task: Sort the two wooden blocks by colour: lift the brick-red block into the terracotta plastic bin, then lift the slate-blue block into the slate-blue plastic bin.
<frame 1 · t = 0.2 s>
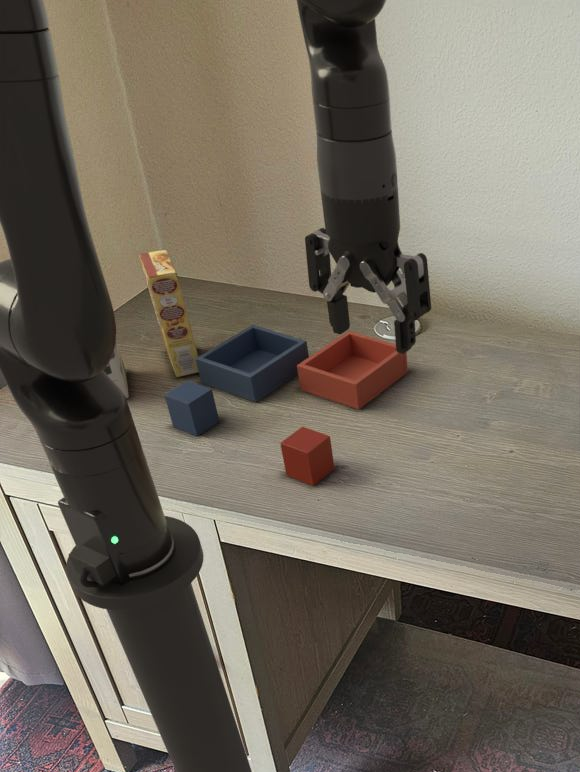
hand: (373, 340, 95), 20 cm above the table, tool pointing down, fingers open, 8 cm apart
blue bin: (256, 374, 130), on the table
candy box: (184, 363, 133), on the table
red bin: (355, 381, 129), on the table
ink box: (111, 388, 128), on the table
red block: (310, 472, 112), on the table
blue block: (196, 424, 120), on the table
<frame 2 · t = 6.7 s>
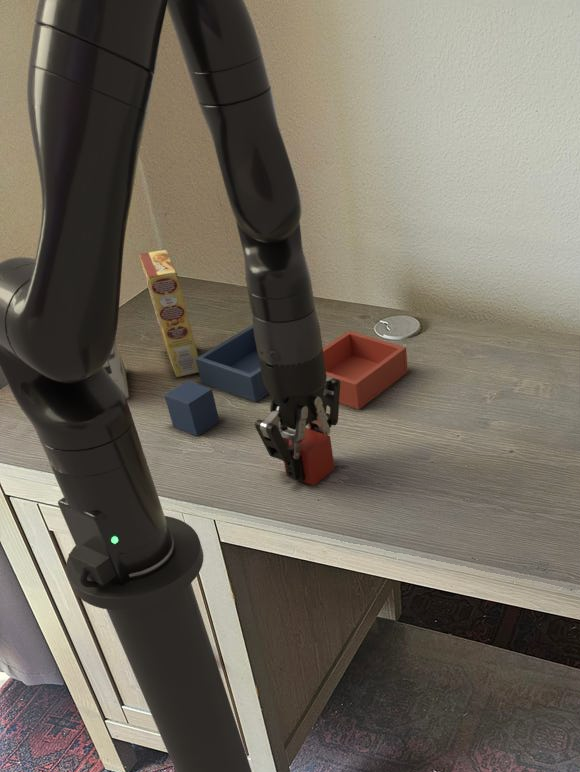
hand: (309, 468, 112), 1 cm above the table, tool pointing down, fingers closed on red block, 4 cm apart
red block: (310, 472, 112), on the table, touching gripper
everything else where it was.
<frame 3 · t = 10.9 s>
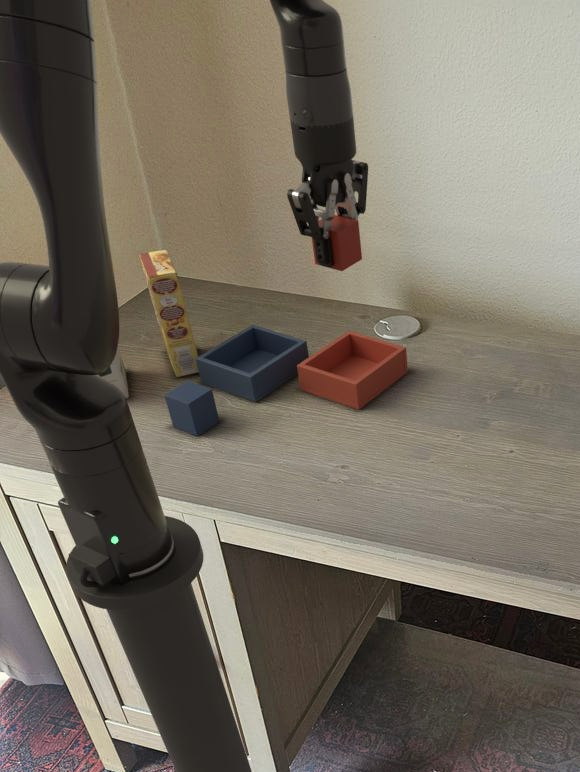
hand: (338, 257, 114), 19 cm above the table, tool pointing down, fingers closed on red block, 4 cm apart
red block: (338, 261, 115), point 18 cm above the table, touching gripper
everything else where it was.
when the fingers open (1 cm above the table, at t = 15.9 s): red block stays where it is, resting on red bin.
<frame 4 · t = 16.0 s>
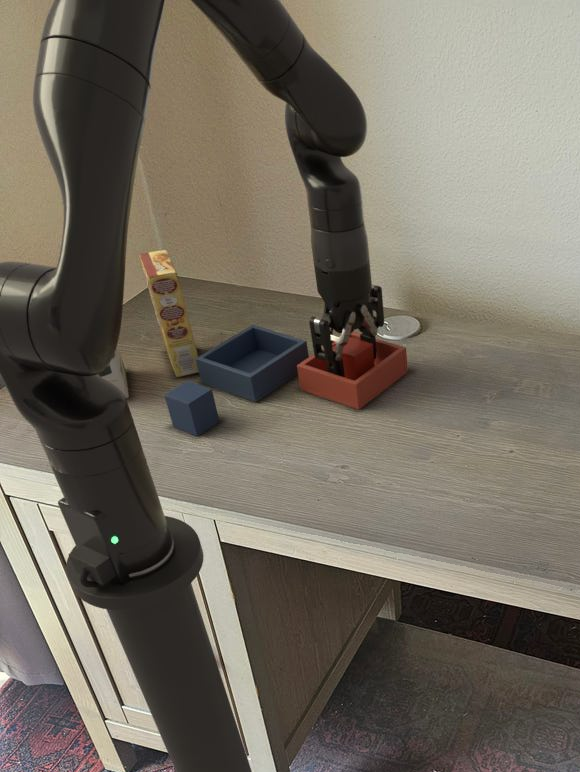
hand: (353, 369, 128), 2 cm above the table, tool pointing down, fingers open, 7 cm apart
red block: (354, 377, 129), resting on red bin
everything else where it was.
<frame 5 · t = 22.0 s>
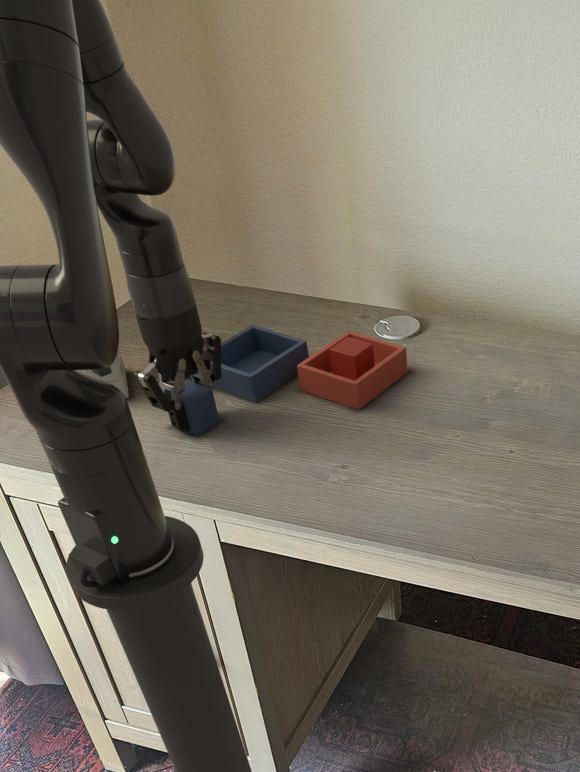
hand: (195, 420, 120), 1 cm above the table, tool pointing down, fingers closed on blue block, 4 cm apart
blue block: (196, 424, 120), on the table, touching gripper
everything else where it was.
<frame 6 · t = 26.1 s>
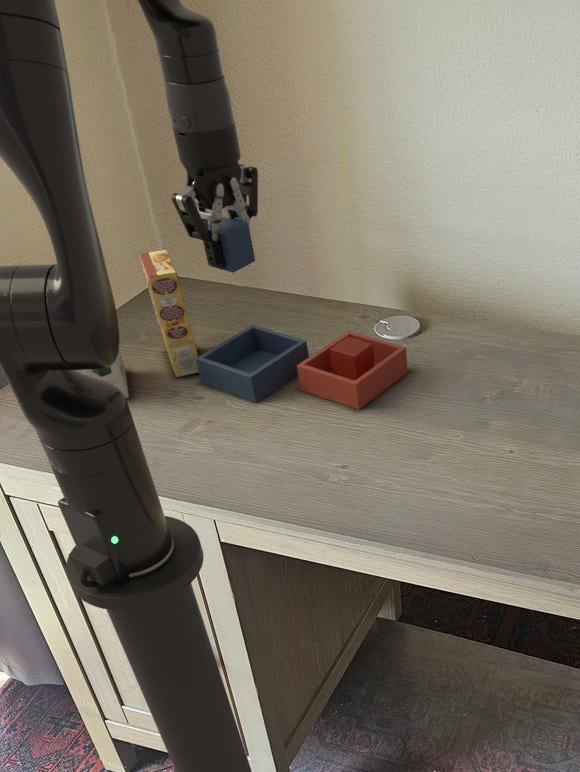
hand: (231, 259, 118), 17 cm above the table, tool pointing down, fingers closed on blue block, 4 cm apart
blue block: (232, 263, 118), point 17 cm above the table, touching gripper
everything else where it was.
when the fingers open (1 cm above the table, at t = 30.7 s): blue block stays where it is, resting on blue bin.
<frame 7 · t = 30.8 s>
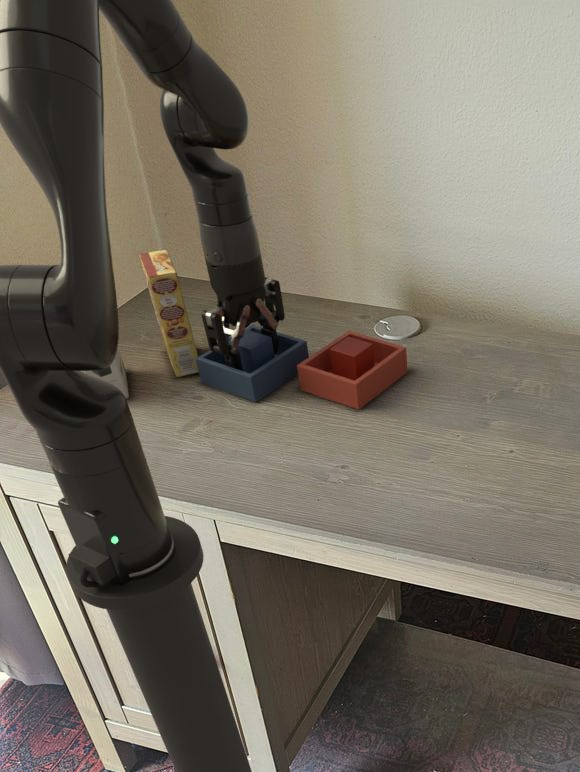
hand: (254, 363, 129), 2 cm above the table, tool pointing down, fingers open, 7 cm apart
blue block: (255, 370, 130), resting on blue bin
everything else where it was.
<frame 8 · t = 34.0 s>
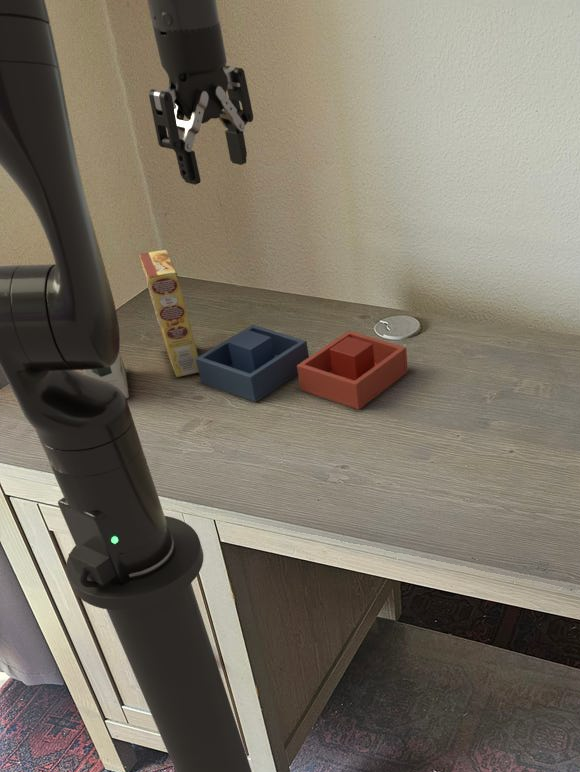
hand: (216, 173, 110), 28 cm above the table, tool pointing down, fingers open, 8 cm apart
nothing on the table moved.
at the end: red block inside the target area in the red bin (0.1 cm from its centre), point 0.5 cm above the red bin's base; blue block inside the target area in the blue bin (0.1 cm from its centre), point 0.5 cm above the blue bin's base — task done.
